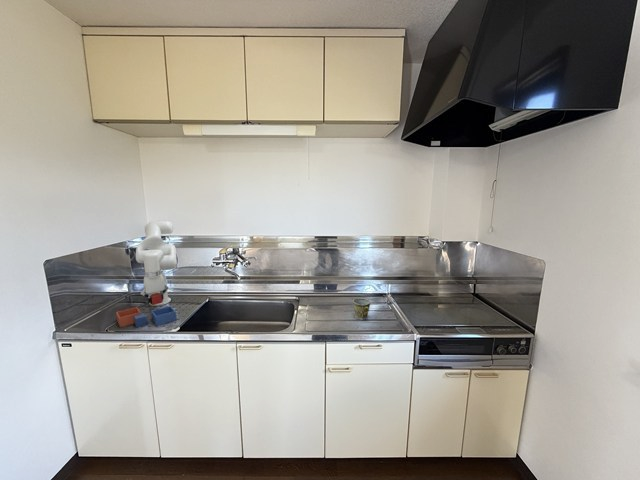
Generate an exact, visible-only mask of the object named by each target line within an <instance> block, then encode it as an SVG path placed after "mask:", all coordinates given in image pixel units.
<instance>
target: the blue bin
mask: <svg viewBox="0 0 640 480" xmlns="http://www.w3.org/2000/svg"><path fill="white" fill-rule="evenodd" d="M150 313H151V320H152V322H153V323H154V324H155V326H156V327H159V326H161V325H164V324H169V323H172V322H175V321H177V311H176V310H175V308H173V307H172V306H171V305H169V306H165V307H160V308H157V309H154V310H153V309H152V310H151V311H150Z"/></svg>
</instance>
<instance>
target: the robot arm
mask: <svg viewBox="0 0 640 480" xmlns="http://www.w3.org/2000/svg"><path fill="white" fill-rule="evenodd" d="M173 231H174V225H173V223H172V222H171V221H170V220H169V221H168V220H162V221H160V220H157V221H150V222H148V223H147V224H145V225H144V233H145V238H144V239H142V240H141V241H140V242H139V243H138V244H137V246H136V249H135V261H136V262H137V263H138V264H143V266H144V273H145V276H143V289H142V290H141V292H140V295H141V296H143V297H145V298H147V302H148V304H149V306H152V307H158V306H159V307H160V306H164V305H167V304H169V303H170V302H171V301H172V298H171V297H169V292H168V290H169V288H170V287H169V286H168V283H167V276H166V274H165V273H164V271H169V270H174V269H176V267H177V264H178V261H177V249H176V246H175V245H174V244H173V243H165V242H164V239H163V238H162V235H171V234H172V233H173ZM155 293H160V294H161V297H162V303H159V304H155V305H152V298H151V294H155Z"/></svg>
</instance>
